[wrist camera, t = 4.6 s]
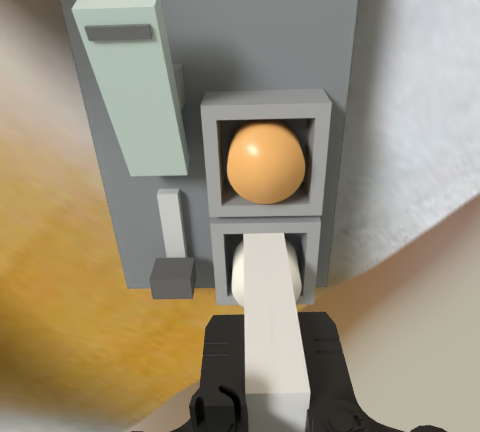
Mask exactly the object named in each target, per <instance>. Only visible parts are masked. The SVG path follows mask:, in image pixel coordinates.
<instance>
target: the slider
mask: <svg viewBox="0 0 480 432" xmlns="http://www.w3.org/2000/svg"><path fill="white" fill-rule="evenodd" d="M149 281H150V286H151V291H152V296H153V299H193V294H194V288H195V282H196V268H195V259H194V257H193V258H156V260H155V263H154V266H153V269H152V273H151V276H150V279H149Z"/></svg>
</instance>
